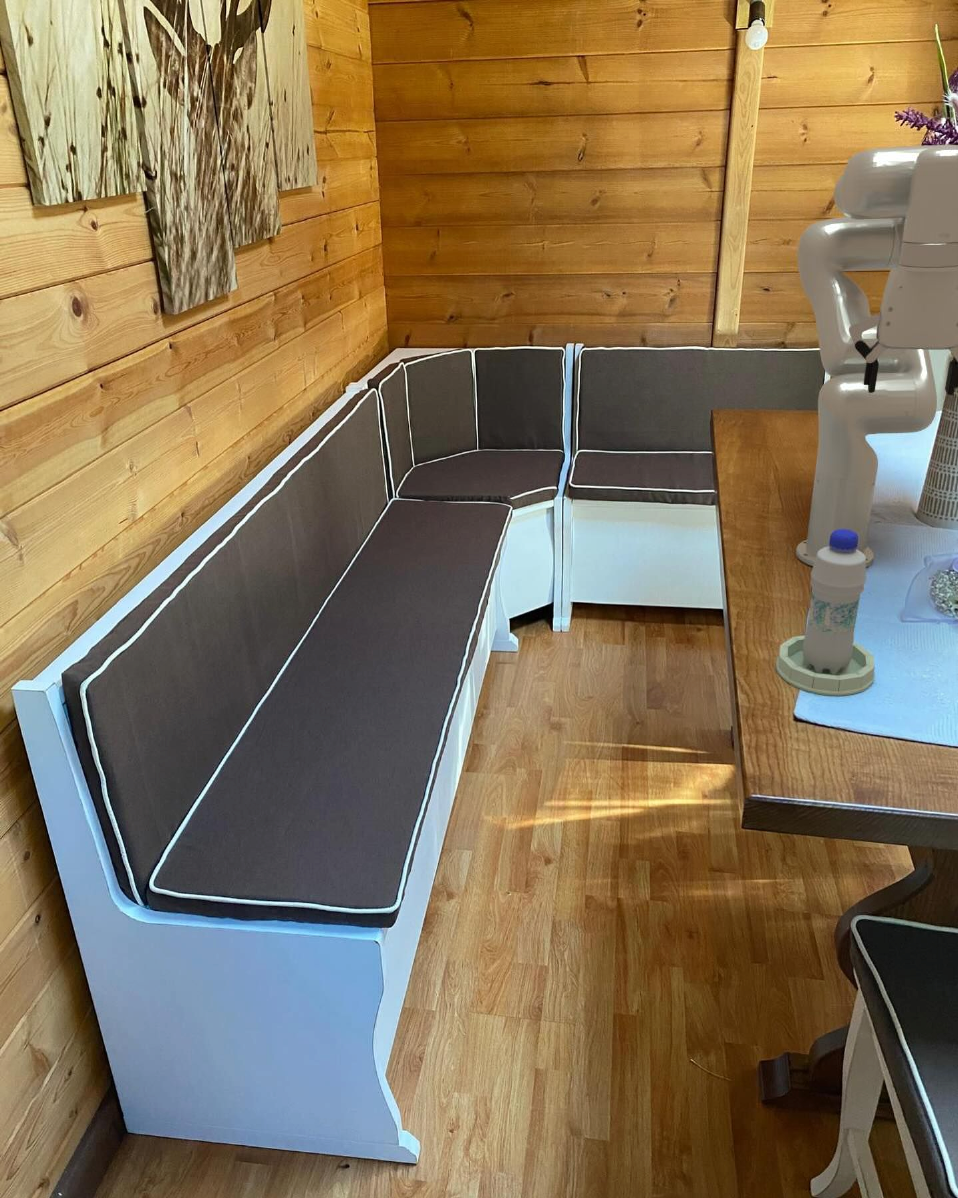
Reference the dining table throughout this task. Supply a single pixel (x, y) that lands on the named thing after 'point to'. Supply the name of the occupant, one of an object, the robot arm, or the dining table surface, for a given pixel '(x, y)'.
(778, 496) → the dining table surface
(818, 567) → the bottle
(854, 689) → the dish
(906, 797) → the dining table surface
